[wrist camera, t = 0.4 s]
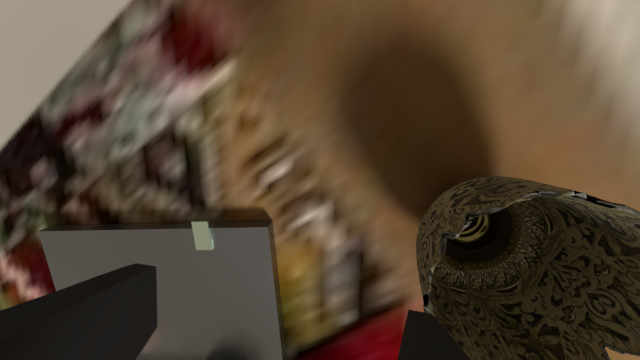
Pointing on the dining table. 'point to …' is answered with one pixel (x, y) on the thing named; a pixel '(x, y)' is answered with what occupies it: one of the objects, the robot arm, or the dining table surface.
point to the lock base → (187, 282)
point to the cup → (531, 271)
